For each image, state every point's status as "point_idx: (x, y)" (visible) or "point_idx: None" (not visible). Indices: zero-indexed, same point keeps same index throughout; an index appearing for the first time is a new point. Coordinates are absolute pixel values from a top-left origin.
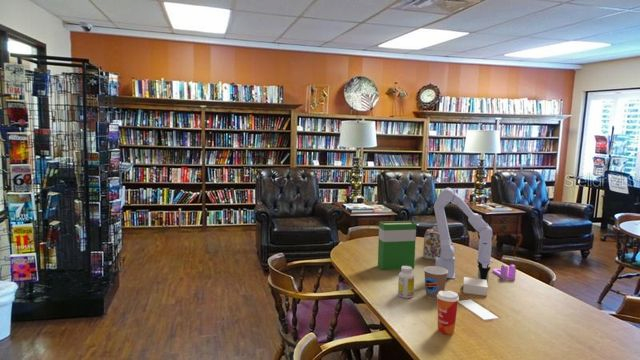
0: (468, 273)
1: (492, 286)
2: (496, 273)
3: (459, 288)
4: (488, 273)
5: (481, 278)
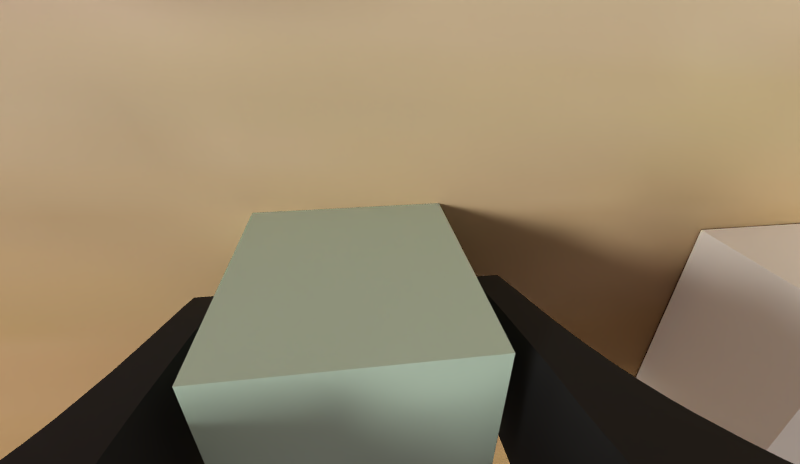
0: None
1: (612, 127)
2: None
3: None
4: (505, 343)
5: None
